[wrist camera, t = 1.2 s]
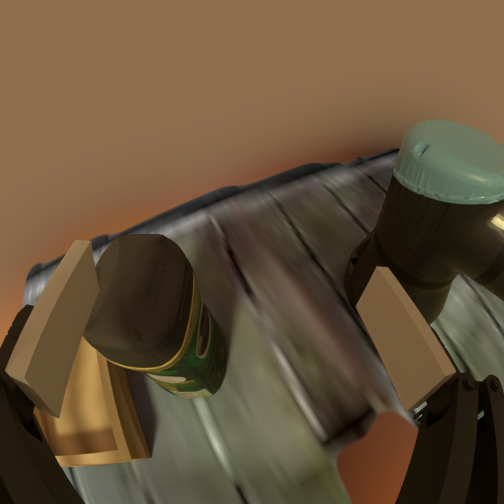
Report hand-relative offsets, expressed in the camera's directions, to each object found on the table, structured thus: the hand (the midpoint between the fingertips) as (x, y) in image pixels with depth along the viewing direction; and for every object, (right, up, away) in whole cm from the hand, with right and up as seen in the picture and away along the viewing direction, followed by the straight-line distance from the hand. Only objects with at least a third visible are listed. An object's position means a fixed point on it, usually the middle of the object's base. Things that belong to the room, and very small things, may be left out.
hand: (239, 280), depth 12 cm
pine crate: (-22, -18, +15) cm, 32 cm away
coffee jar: (-6, -12, +19) cm, 23 cm away
